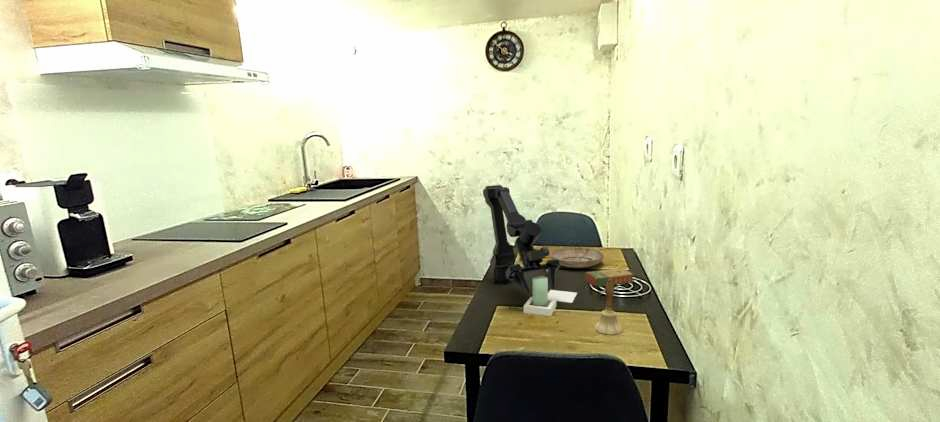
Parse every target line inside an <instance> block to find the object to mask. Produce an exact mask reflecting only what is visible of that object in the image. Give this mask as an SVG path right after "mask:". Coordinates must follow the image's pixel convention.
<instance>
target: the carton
mask: <svg viewBox="0 0 940 422" xmlns="http://www.w3.org/2000/svg"><path fill="white" fill-rule="evenodd" d="M633 278H634V275H633V273H632V272H631V271H628V270H627V269H625V268H623V267H617V268H616V267H615V268H607V269H602V270H601V269H600V270H593V271H586V272H585V282H586V283H588V284H589V285H591V284H592V285H591V286H593V285H594V286H603V287H606V283H607V281H608V279H612V281H613V284H614V286H616V285H615V284H619V285H625V283H627V284H633V280H634V279H633ZM594 286H593V287H594Z"/></svg>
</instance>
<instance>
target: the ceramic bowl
mask: <svg viewBox="0 0 940 422" xmlns="http://www.w3.org/2000/svg"><path fill="white" fill-rule="evenodd" d="M604 255H605V254H604V253H603V252H602V251H600V250H597V249H593V248H588V247H564V248H558V249H554V250H553V251H551V252H549V256H550V260H552V259H558V260H559V261H560V264H561V266H562V267H566V268H572V269H585V268H590V267H593V266H596V265H597V264H600V263H601V262H602V261H603V260H604V257H605V256H604Z"/></svg>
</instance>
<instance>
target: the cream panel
mask: <svg viewBox="0 0 940 422" xmlns="http://www.w3.org/2000/svg"><path fill="white" fill-rule="evenodd" d="M577 294H578V292H573V291H566V290H565V291H564V290H555V289H554V290H552V289H550V290H548V299H556V302H561V303H568V304H573V302H574V300H575V299H576V296H577Z"/></svg>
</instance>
